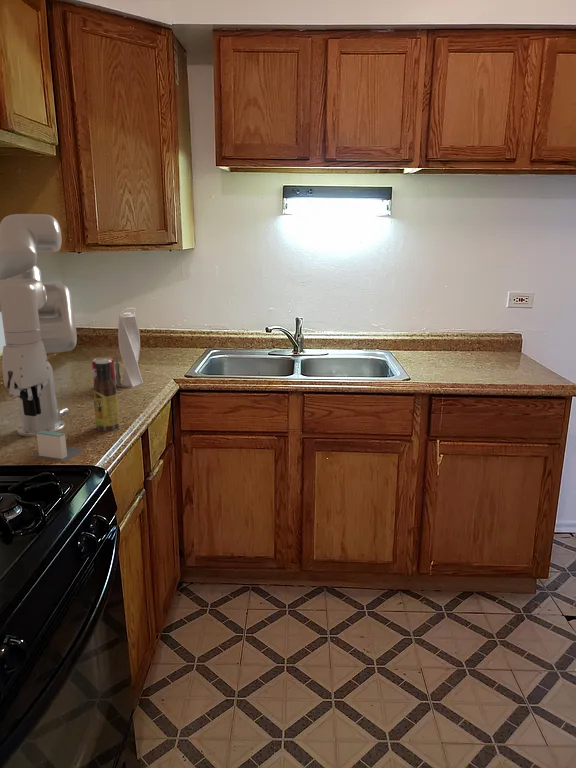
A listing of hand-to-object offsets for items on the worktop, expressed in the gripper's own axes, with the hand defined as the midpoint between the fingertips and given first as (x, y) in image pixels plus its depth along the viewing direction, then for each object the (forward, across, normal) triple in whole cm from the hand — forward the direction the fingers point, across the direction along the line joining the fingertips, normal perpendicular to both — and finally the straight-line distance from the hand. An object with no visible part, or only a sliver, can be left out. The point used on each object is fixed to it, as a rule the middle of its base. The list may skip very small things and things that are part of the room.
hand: (32, 414), depth 136 cm
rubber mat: (+13, -7, 0) cm, 15 cm away
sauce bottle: (+13, -27, 0) cm, 30 cm away
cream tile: (+13, -5, 0) cm, 13 cm away
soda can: (+13, -58, -22) cm, 64 cm away
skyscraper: (+14, -71, -20) cm, 75 cm away
